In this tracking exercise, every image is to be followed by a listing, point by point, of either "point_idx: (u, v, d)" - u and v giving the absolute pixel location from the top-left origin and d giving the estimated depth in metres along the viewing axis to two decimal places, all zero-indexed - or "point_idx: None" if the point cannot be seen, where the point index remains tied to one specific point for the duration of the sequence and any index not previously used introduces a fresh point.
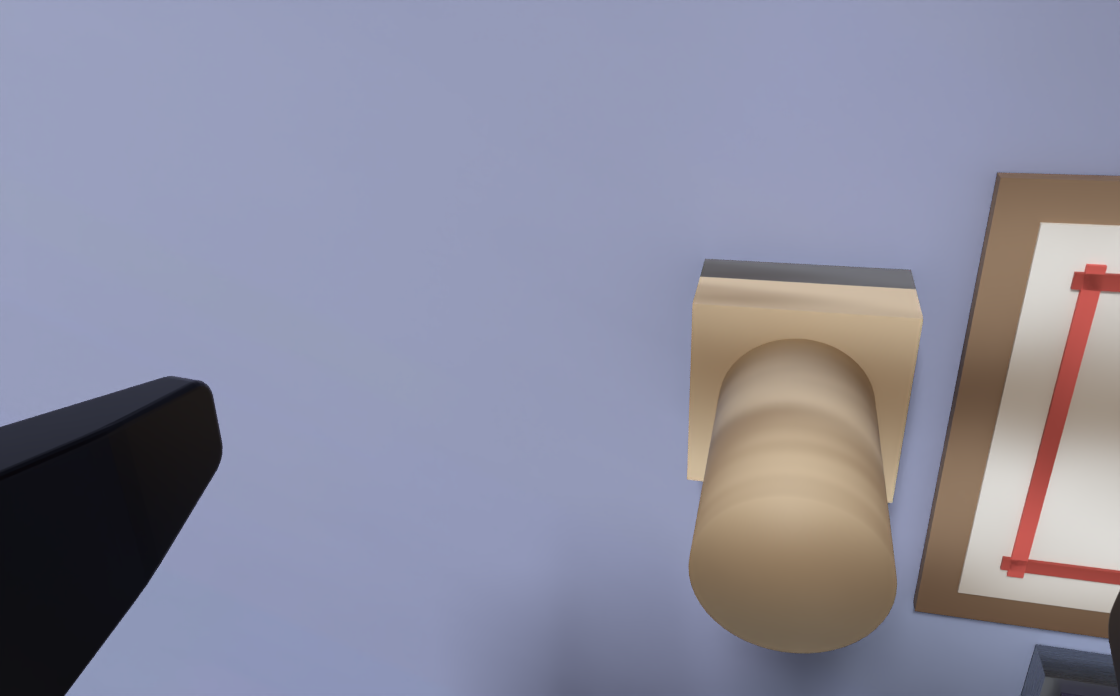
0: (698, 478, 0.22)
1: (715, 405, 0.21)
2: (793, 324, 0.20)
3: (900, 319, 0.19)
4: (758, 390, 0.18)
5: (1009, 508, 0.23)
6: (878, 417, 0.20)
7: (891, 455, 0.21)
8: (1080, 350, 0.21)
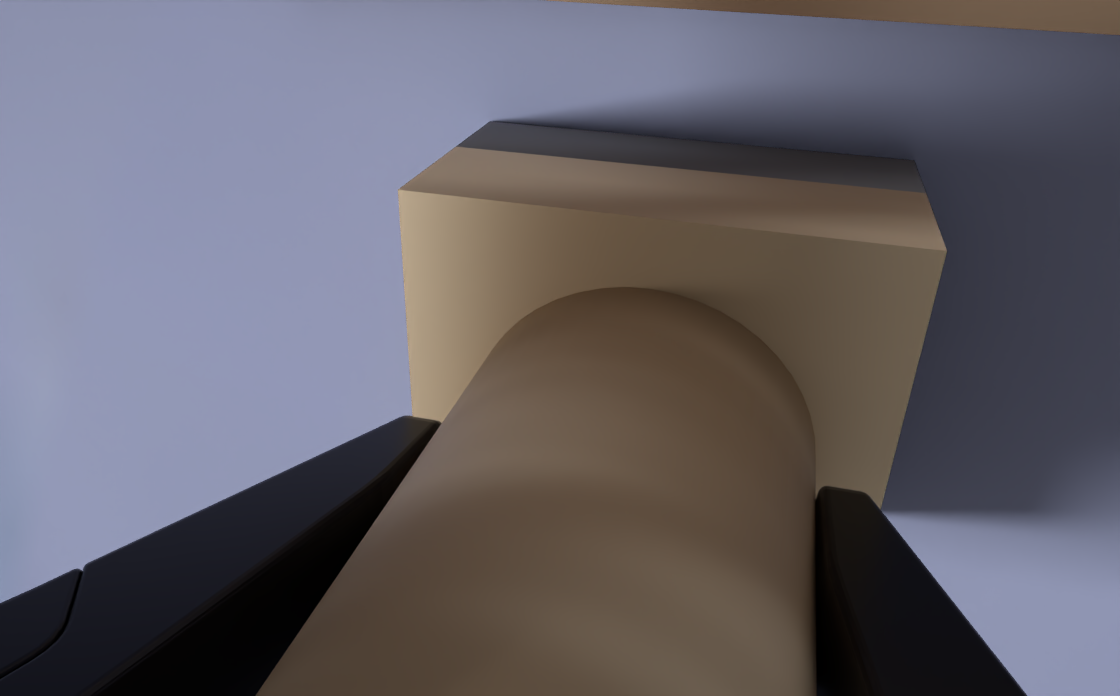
0: None
1: None
2: None
3: (412, 231, 0.09)
4: None
5: None
6: (662, 280, 0.08)
7: (778, 253, 0.08)
8: None
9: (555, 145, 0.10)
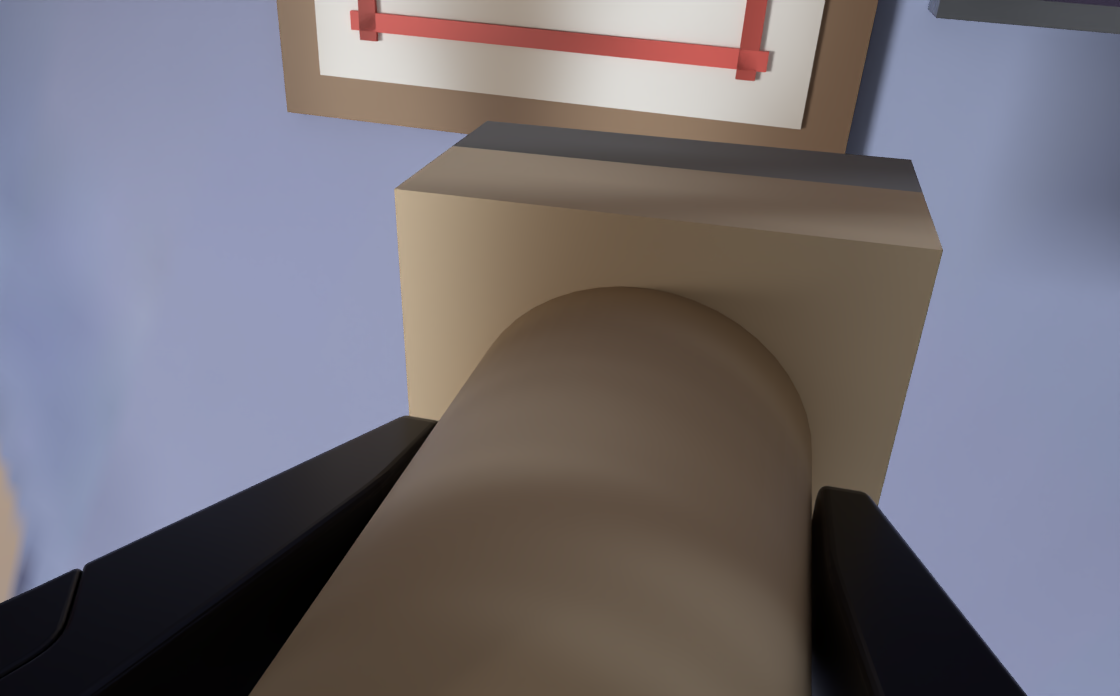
0: None
1: None
2: None
3: (409, 230, 0.09)
4: None
5: (662, 74, 0.19)
6: (658, 279, 0.08)
7: (773, 252, 0.08)
8: (444, 21, 0.19)
9: (552, 144, 0.10)
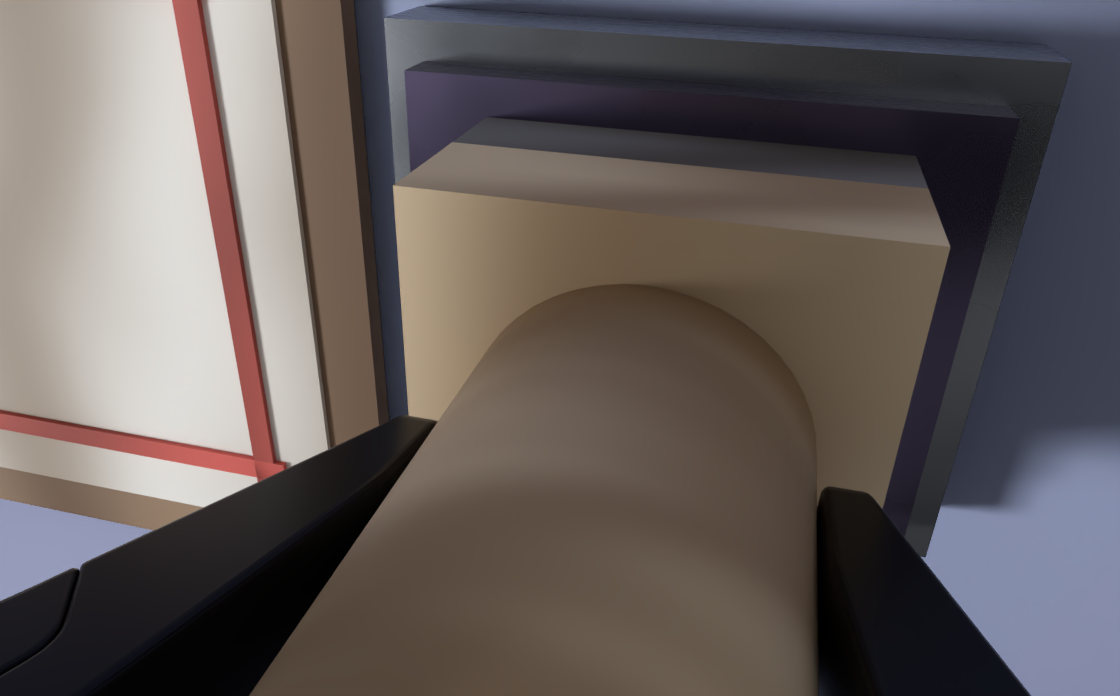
0: None
1: None
2: None
3: (408, 228, 0.09)
4: None
5: (193, 470, 0.17)
6: (660, 277, 0.08)
7: (778, 249, 0.08)
8: None
9: (552, 140, 0.10)
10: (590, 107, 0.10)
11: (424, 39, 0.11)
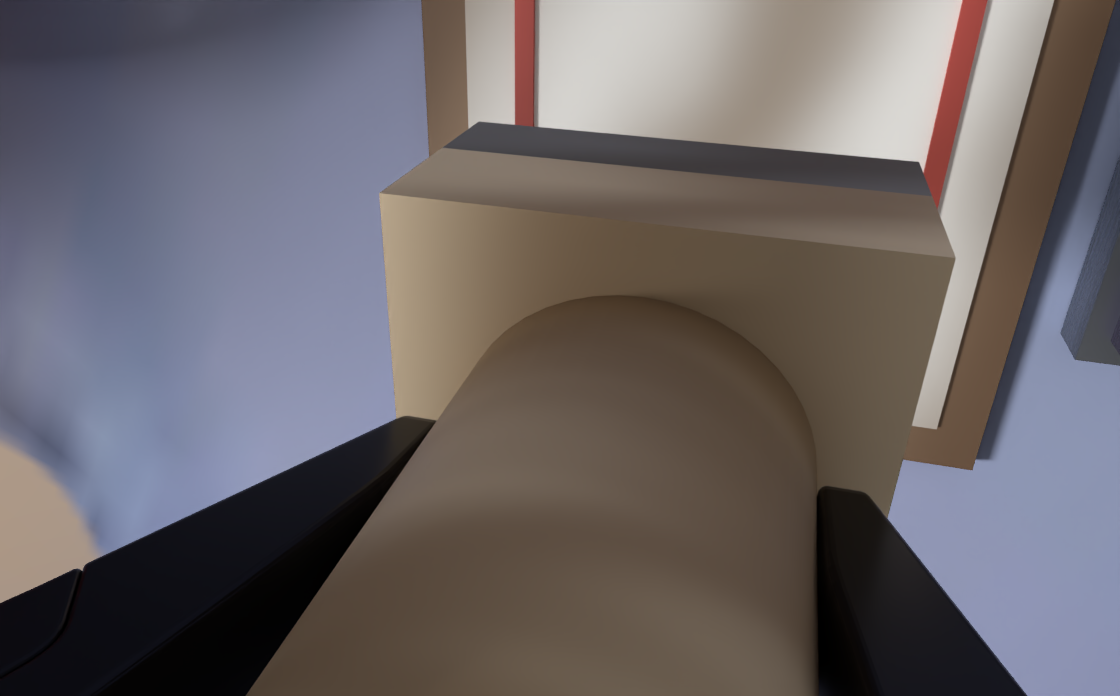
0: None
1: None
2: None
3: (395, 237, 0.08)
4: None
5: None
6: (656, 288, 0.08)
7: (777, 260, 0.07)
8: None
9: (545, 145, 0.10)
10: None
11: None
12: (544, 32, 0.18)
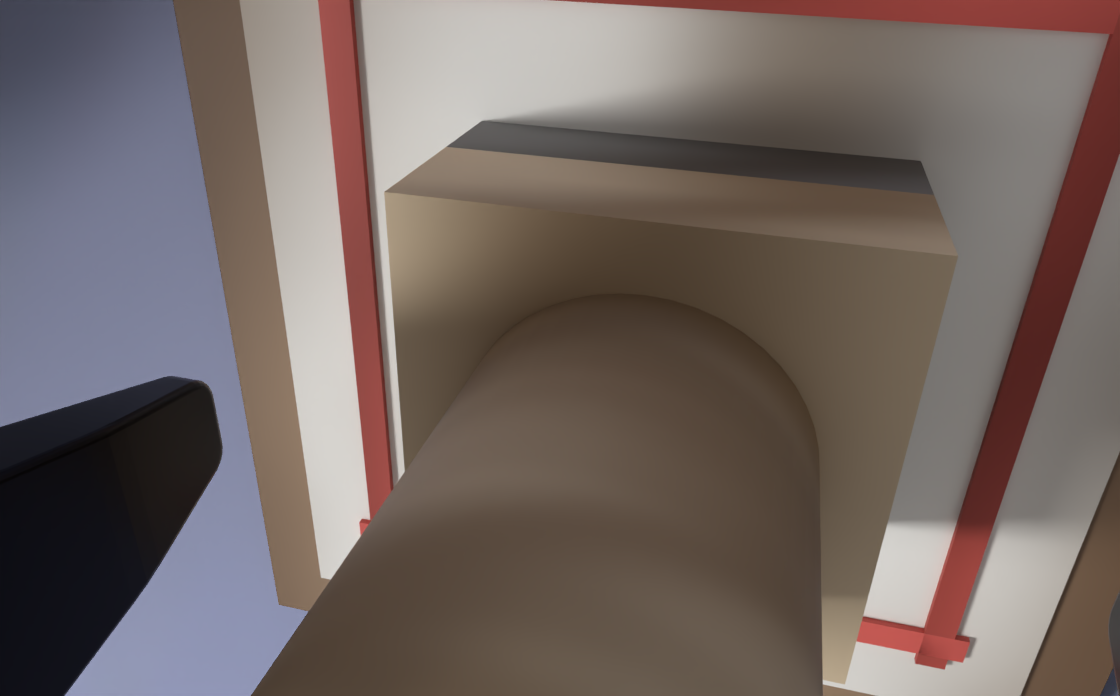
0: (849, 660, 0.09)
1: None
2: None
3: (400, 235, 0.08)
4: None
5: None
6: (659, 286, 0.08)
7: (780, 257, 0.07)
8: None
9: (548, 145, 0.10)
10: None
11: None
12: (379, 119, 0.11)
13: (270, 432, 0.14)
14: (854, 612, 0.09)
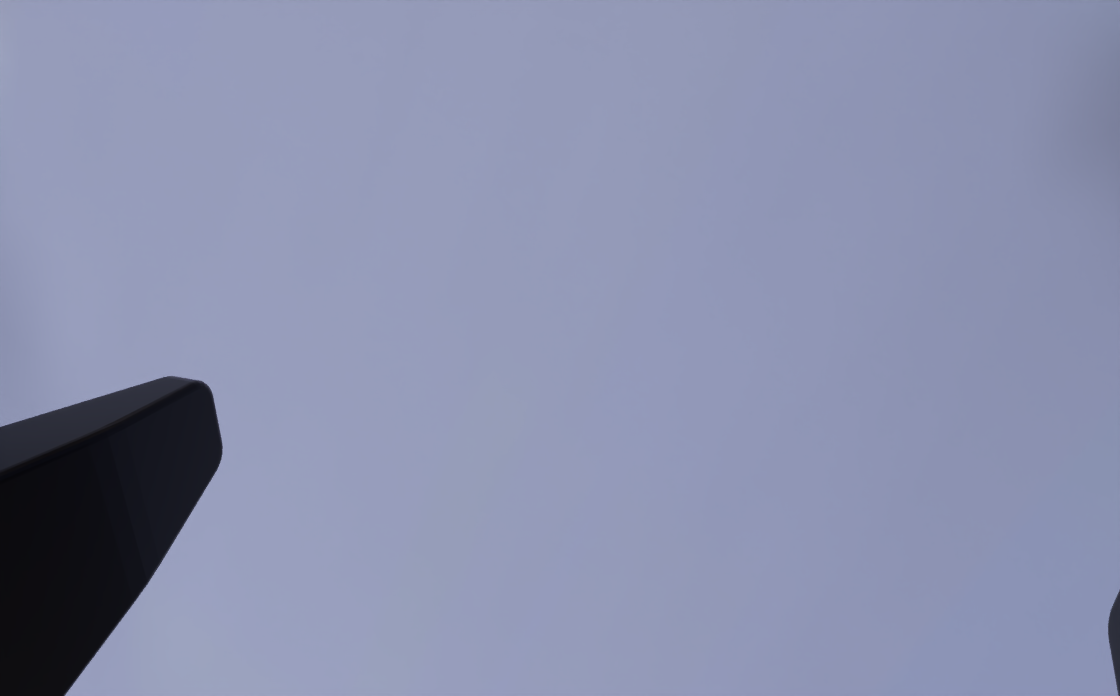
0: None
1: None
2: None
3: None
4: None
5: None
6: None
7: None
8: None
9: None
10: None
11: None
12: None
13: None
14: None
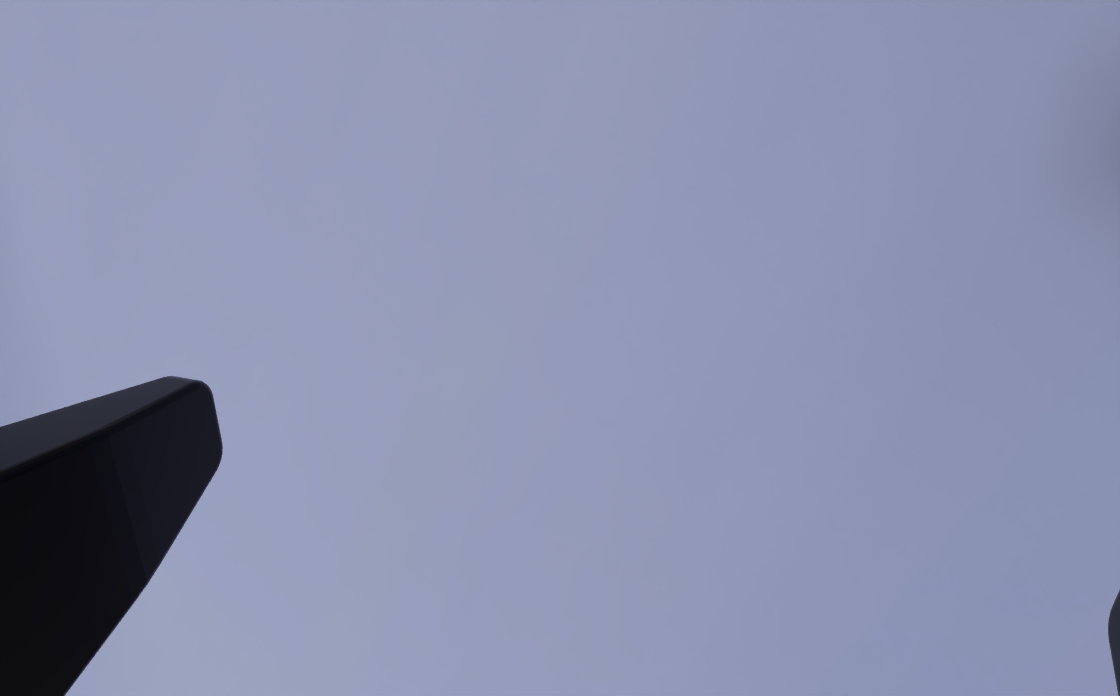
0: None
1: None
2: None
3: None
4: None
5: None
6: None
7: None
8: None
9: None
10: None
11: None
12: None
13: None
14: None
